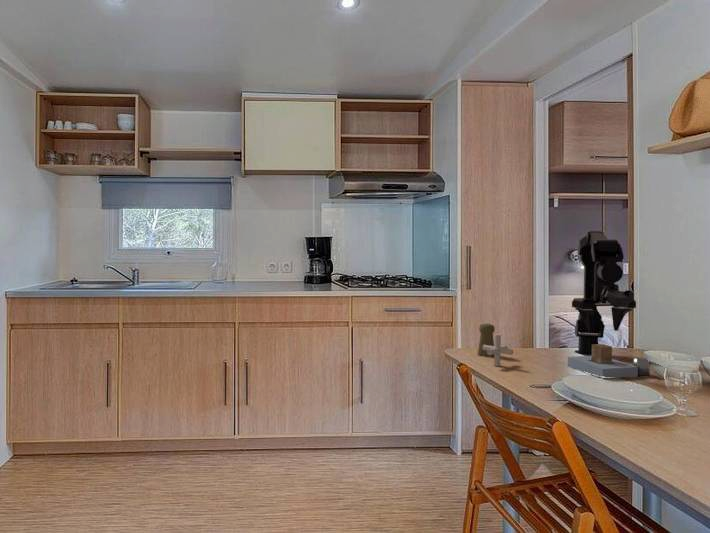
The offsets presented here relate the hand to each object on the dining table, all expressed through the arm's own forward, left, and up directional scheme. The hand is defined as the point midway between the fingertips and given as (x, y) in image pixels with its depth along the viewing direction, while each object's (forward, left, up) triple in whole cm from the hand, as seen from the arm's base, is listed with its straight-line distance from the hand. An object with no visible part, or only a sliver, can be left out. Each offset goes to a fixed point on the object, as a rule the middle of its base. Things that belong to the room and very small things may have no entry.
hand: (603, 331), depth 156 cm
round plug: (+6, +8, -12) cm, 16 cm away
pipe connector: (-13, -29, -13) cm, 34 cm away
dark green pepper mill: (-28, -25, -13) cm, 39 cm away
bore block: (0, -1, -12) cm, 12 cm away
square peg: (0, -1, -12) cm, 12 cm away
